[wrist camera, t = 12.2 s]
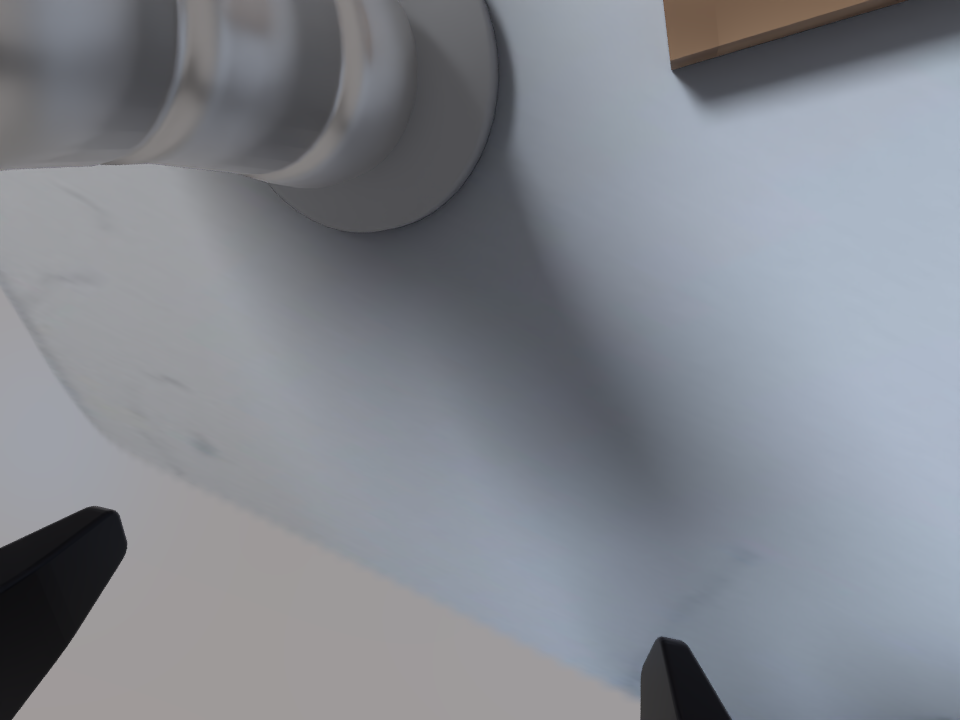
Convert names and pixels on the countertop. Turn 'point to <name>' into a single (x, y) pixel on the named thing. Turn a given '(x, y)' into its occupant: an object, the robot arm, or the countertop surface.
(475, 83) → the slate coaster
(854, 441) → the countertop surface
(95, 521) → the robot arm
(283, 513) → the countertop surface
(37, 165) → the plastic bottle
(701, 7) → the walnut collar
